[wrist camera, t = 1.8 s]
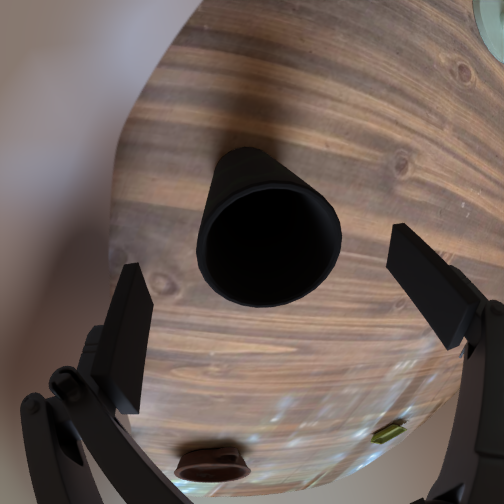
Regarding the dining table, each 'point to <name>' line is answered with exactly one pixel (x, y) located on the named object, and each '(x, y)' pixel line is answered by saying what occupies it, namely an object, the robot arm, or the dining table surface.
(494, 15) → the bowl
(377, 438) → the green square tray
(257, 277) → the cup
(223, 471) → the dish
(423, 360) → the dining table surface
